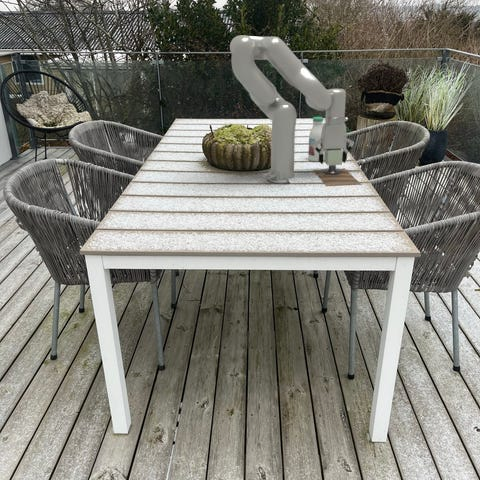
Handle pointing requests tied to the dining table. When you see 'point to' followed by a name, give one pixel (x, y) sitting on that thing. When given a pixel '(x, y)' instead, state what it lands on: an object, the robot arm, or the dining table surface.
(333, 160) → the pale green cube
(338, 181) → the board
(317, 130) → the milk bottle
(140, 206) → the dining table surface
